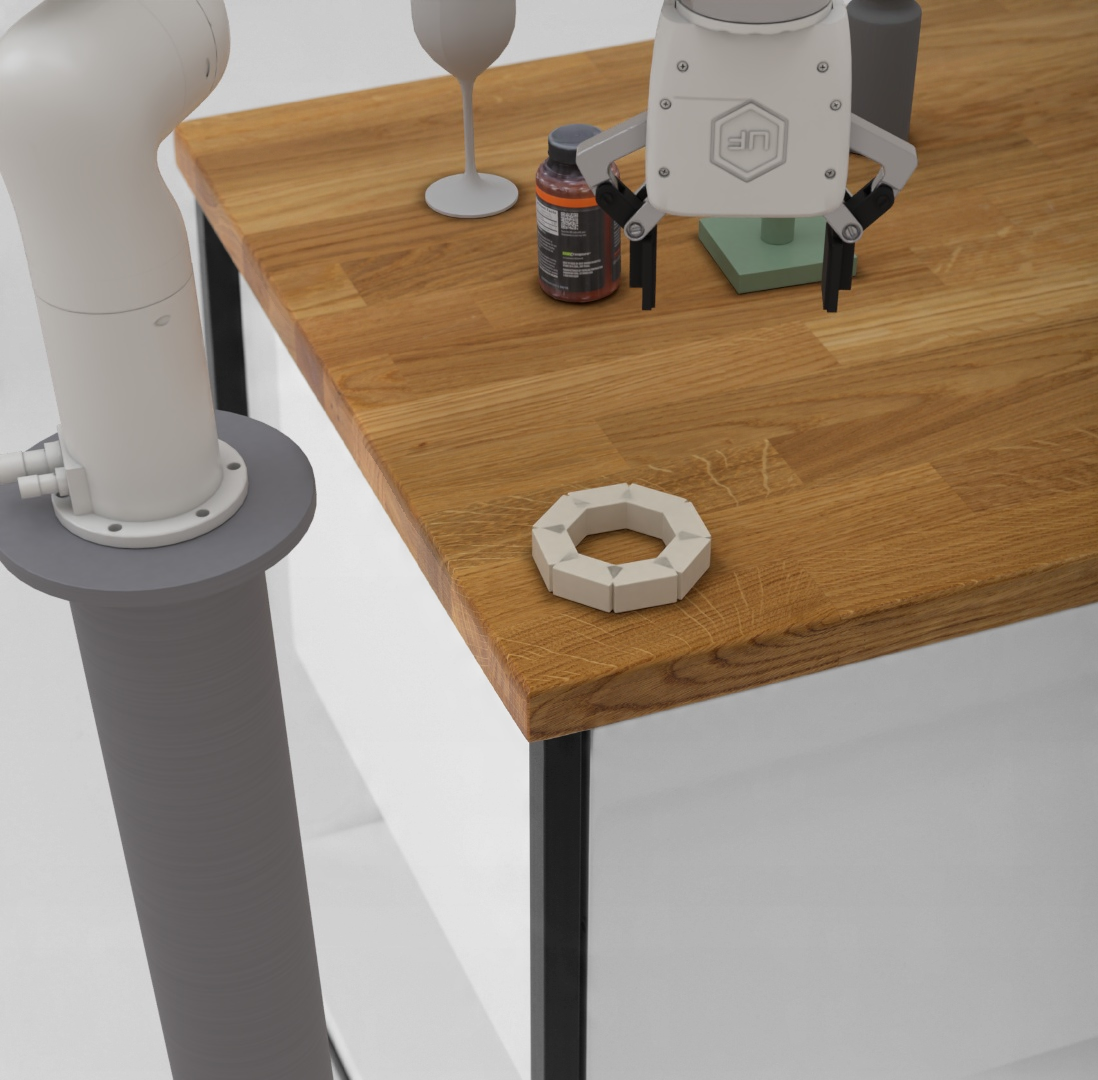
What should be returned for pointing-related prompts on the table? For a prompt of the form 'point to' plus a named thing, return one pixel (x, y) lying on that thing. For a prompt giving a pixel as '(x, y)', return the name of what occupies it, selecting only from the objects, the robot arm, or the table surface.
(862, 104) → the bottle
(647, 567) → the ring
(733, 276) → the stand
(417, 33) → the wineglass
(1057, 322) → the table surface
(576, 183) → the supplement bottle
